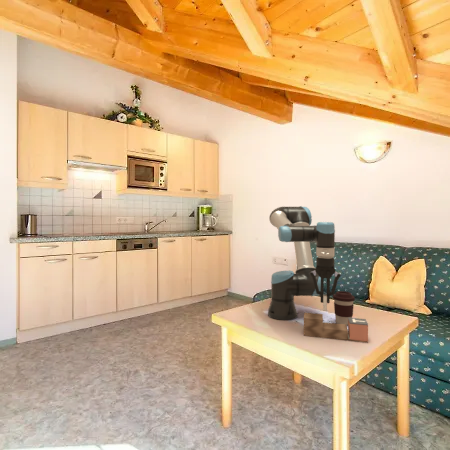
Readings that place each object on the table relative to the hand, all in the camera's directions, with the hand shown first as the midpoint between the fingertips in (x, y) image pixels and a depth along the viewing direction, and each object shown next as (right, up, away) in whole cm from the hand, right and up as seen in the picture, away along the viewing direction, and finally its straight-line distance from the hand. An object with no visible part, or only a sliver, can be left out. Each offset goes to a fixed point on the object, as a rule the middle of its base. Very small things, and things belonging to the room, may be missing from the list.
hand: (324, 310), depth 130 cm
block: (+12, -3, -5) cm, 14 cm away
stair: (+4, -11, -1) cm, 11 cm away
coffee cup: (+14, -11, +14) cm, 23 cm away
